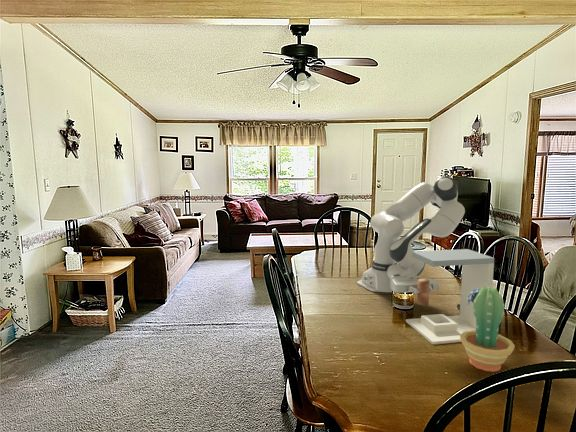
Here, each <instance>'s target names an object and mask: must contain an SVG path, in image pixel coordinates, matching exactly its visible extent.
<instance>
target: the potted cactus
mask: <svg viewBox="0 0 576 432" xmlns="http://www.w3.org/2000/svg"><path fill="white" fill-rule="evenodd" d="M467 300H468V305H469V302H470V301H471V302H472V303H473V309H474V316H475V319H476V330H470V331H464V332H463V333H462V334H461V335H460V339H461V341H462V342H461V343H462V345H463V346H464V350H465V352H466V354H467V356H468V357H469V363H470V365H472V366H474V367H475V368H476V369H478V370H482V371H484V372H498V371H500V370H501V369H502V365H503V364H504V363H505V362H506V361H507V359H508V357H509V356H511V354H512V353H513V352H514V350H515V347H516V346H515V344H514V343H513V341H512V340H511V339H509V338H507V337H506V336H503V335H502V334H499V329H500V324H501V322H502V320H503V317H504V311H505V303H504V299H503V297H502V295H501V294H500V292H499V291H498V289H497V287H492V289H491V287H489V286H488V287H487V288H485V287H482V288H481V289H474V290H473V291H471V292H470V293H469V295H468V297H467Z"/></svg>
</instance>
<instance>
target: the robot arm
mask: <svg viewBox="0 0 576 432" xmlns="http://www.w3.org/2000/svg"><path fill="white" fill-rule="evenodd" d="M458 196H459V191H458V184H457V182H456V180H455V179H454V178H453V177H451V176H440V177H439V178H438V179H436V181H435V182H434V185H432V184H431V183H428V182H425V181H423V182H420V183H418V184H417V185H415V186H413V187H412V188H411V189H410V190H408V191H407V192H406V193H405V194H403V196H401V197H400V198H399V199H398V200H396V201H394V203H392V204H391V205H389V206H387V207H385V208H384V209H382V210H381V211H380V212H377V213H375V214H374V215H372V216H371V218H370V226H371V228H372V229H373V230H374V232H376V233H377V234H378V237H377V242H376V244H375V246H374V257H373V258H374V259H373V261H371V262H369V263H370V265H371V267H369V268H368V269H367V270H365V271H363V272H362V275H361V279H359V280H357V282H356V285H359V286H360V287H362V288H364V289H367V290H368V291H371V292H375V293H376V292H377V293H396V294H401V293H414V294H415V295H417V294H418V293H419V289H418V279H427V280H429V281H430V282H429V294H430V293H431V294H432V293H433V291H438V290H440V289H439V288H440V282H439V281H437V280H435V279H434V278H430V277H423V278H419V276H420V275H421V274H422V273H423V271H424V269H425V267H426V263H424V262H422V261H420V260H418V259H416V258H414V257H412V252H415V251H416V250H414V248H413V247H412V244H413V243H414V242H415V241H416V240H417V239H418V238H419V237H421V235H423V234H424V233H425V234H428V235H431V236H434V237H437V238H447V237H448V236H449V235H451V234H452V233H453V232H454V231H455V230H456V228H457V227H458V226H459V224H460V223H461V221H462V219H463V217H464V215H465V213H466V210H465V207H464V205H463V204H462V203H461V202H459V201H458ZM430 203H431V205H432V206H434V207H436V208H438V211H437V212H436V213H435V214H434V215H433V216H432V217H430V218H424V219H422V220H420V221H419V222H418V223H416V224H415V225H414V226H413V227H412V228H410V229H409V230H408V232H406V233H404V231H405V230H404V229H405V226H404V223H403V222H405V221H407V220H410V219H412V218H413V217H414V216H416V214H417V213H419V212H420V211H422V209H423V208H425V207H426V206H427V205H428V204H430ZM403 233H404V235H403V236H402V234H403ZM392 290H393V291H394V292H392Z"/></svg>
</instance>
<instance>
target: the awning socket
mask: <svg viewBox="0 0 576 432" xmlns="http://www.w3.org/2000/svg"><path fill="white" fill-rule="evenodd" d="M414 251H415V252H412V257H414V258H416V259H418V260H420V261H422V262H424V263H425V265H426V264H427V265H428V266H431V267H434V268H435V267H451V266H462V268H461V285H460V301H459V304H460V311H459V314H458V315H457V314H456V315H455V314H454V315H446V314H444V313H439V314H437V313H436V314H426V315H424V314H423V315H421V316H420V317H419V318H408V319H407V318H406V319H405V323H407V325H409V326H410V327H411V328H413V329H414V330H415V331H416V332H417V333H419V335H421V336H422V337H423V338H424V339H425V340H426V341H428V342H429V343H430V344H431V345H441V344H452V343H453V344H454V343H462V341H461V339H460V335H461V334H462V333H463V332H464V331H470V330H476V319H475V316H474V309H473V303H472V302H471V301H470V302H469V305H468V300H467V297H468V295H469V293H470V292H471V291H473V290H474V289H481V288H482V287H485V288H487V287H488V286H489V287H491V289H492V288H493V283H494V268H495V257H492V256H490V255H487V254H484V253H480V252H479V251H475V250H471V249H469V248H461V249H444V250H443V249H442V250H441V249H439V250H422V251H421V250H419V251H416V250H414Z"/></svg>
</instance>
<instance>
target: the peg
mask: <svg viewBox="0 0 576 432" xmlns="http://www.w3.org/2000/svg"><path fill="white" fill-rule="evenodd" d="M429 282H430V281H429V280H427V279H418V289H419V293H418V294H416V295H417V297H416V298H417V299H416V304H417V305H419V306H428V305H429V302H430V301H429V300H430V293H429Z"/></svg>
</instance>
